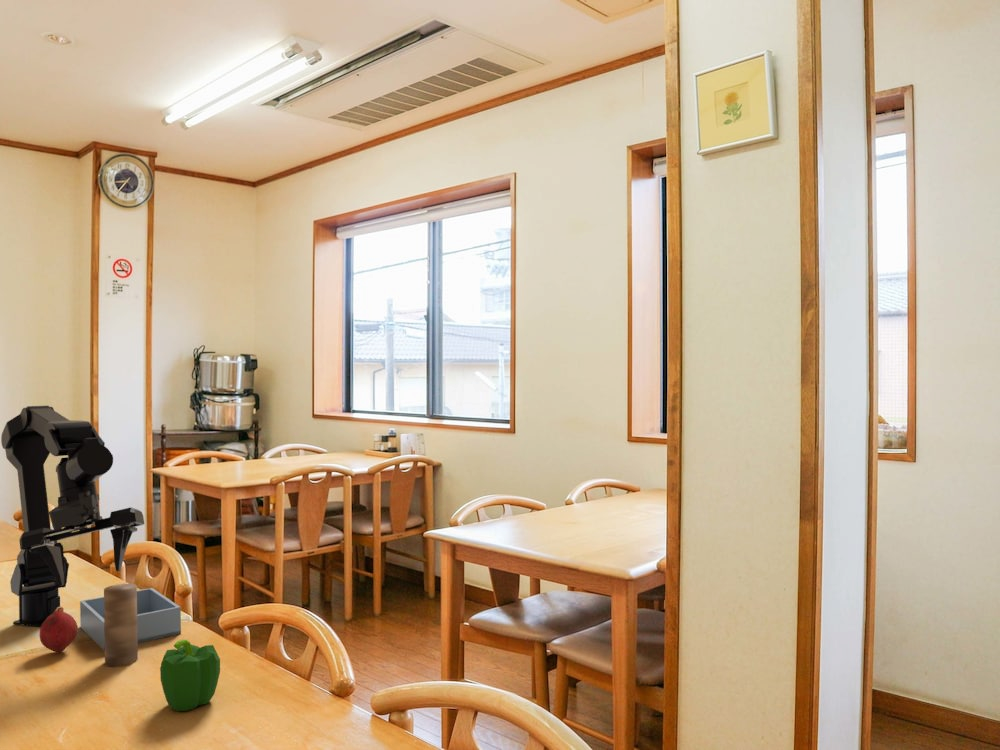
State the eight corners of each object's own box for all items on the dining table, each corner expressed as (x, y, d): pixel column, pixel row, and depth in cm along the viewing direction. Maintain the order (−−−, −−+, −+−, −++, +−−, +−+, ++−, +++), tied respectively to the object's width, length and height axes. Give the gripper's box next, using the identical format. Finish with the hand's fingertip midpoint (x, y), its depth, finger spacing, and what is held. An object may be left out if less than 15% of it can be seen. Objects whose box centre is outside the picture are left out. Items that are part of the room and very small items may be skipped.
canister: (98, 665, 130) (97, 591, 130) (117, 654, 135) (116, 583, 135) (125, 667, 130) (124, 592, 129) (143, 656, 135) (142, 584, 134)
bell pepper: (201, 687, 121) (200, 623, 121) (230, 701, 116) (229, 634, 116) (147, 706, 115) (146, 638, 114) (176, 722, 109) (175, 651, 109)
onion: (60, 659, 133) (60, 613, 133) (31, 657, 134) (31, 611, 134) (85, 647, 139) (84, 603, 139) (57, 645, 140) (56, 601, 140)
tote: (80, 626, 150) (80, 600, 150) (152, 612, 159) (152, 587, 159) (104, 650, 137) (103, 622, 137) (180, 633, 146) (180, 607, 146)
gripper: (-1, 497, 129) (10, 592, 125) (118, 471, 133) (132, 562, 129) (28, 505, 139) (39, 592, 136) (138, 480, 143) (151, 564, 140)
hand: (90, 578), depth 135 cm, fingers open, 9 cm apart
